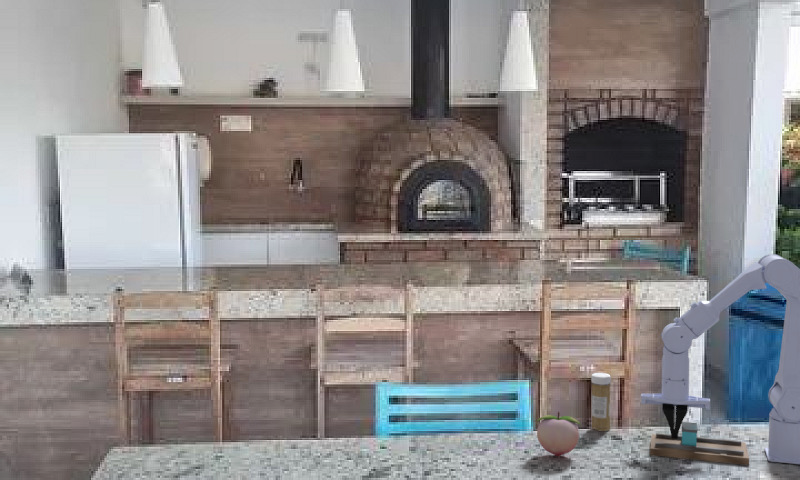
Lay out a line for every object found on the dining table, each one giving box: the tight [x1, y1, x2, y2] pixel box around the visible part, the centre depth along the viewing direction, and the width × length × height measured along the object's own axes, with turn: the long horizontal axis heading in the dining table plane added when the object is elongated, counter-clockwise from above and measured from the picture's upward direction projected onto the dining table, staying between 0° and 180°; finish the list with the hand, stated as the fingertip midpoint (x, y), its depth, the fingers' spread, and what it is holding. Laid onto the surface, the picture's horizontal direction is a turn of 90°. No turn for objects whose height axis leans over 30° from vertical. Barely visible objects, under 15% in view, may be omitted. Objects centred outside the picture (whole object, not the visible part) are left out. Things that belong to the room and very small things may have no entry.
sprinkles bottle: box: [590, 372, 612, 432], centre depth 192 cm, size 5×5×13 cm
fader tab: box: [681, 421, 698, 446], centre depth 176 cm, size 3×5×4 cm, turn 161°
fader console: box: [649, 432, 750, 466], centre depth 176 cm, size 20×10×2 cm, turn 71°
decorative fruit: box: [536, 411, 581, 457], centre depth 174 cm, size 9×8×10 cm
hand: (674, 437), depth 177 cm, fingers closed
